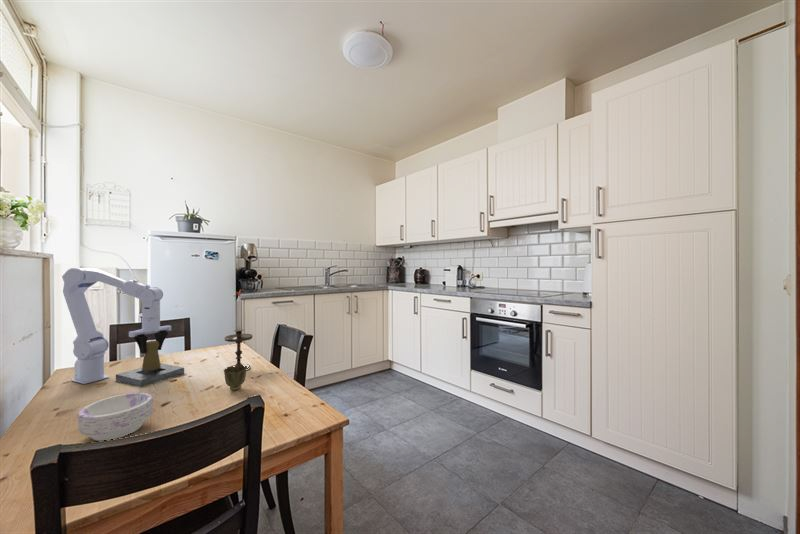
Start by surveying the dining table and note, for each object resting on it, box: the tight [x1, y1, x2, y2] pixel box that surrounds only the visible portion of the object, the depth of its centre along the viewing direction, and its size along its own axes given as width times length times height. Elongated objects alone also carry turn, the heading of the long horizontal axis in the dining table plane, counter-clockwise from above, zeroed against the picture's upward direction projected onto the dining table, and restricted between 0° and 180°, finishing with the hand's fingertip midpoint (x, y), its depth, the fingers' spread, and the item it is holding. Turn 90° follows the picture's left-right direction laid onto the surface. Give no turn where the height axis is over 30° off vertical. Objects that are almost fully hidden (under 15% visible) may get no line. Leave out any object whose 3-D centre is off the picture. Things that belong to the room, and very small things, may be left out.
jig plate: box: [115, 362, 185, 388], centre depth 129 cm, size 16×16×2 cm
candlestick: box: [224, 289, 253, 369], centre depth 140 cm, size 11×11×35 cm
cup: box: [223, 365, 247, 392], centre depth 117 cm, size 8×7×8 cm
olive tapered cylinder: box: [141, 340, 161, 371], centre depth 129 cm, size 6×6×11 cm
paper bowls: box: [77, 392, 154, 442], centre depth 87 cm, size 15×15×8 cm
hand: (151, 351), depth 129 cm, fingers closed on olive tapered cylinder, 5 cm apart
